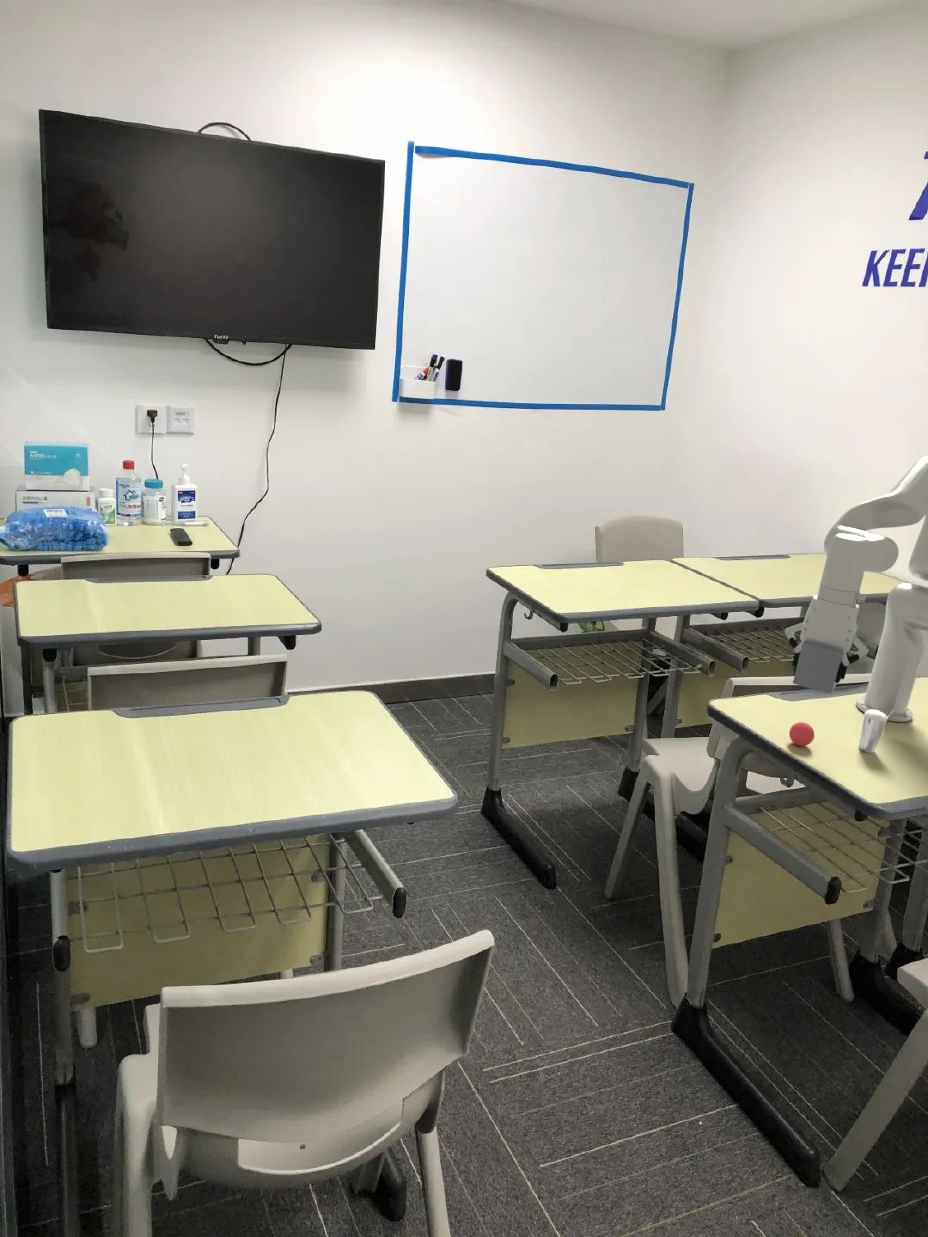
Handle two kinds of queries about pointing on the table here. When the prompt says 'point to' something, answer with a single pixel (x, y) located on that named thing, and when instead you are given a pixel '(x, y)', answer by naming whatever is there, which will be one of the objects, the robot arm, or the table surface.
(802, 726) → the ball
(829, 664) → the grey cube
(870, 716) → the milkshake
